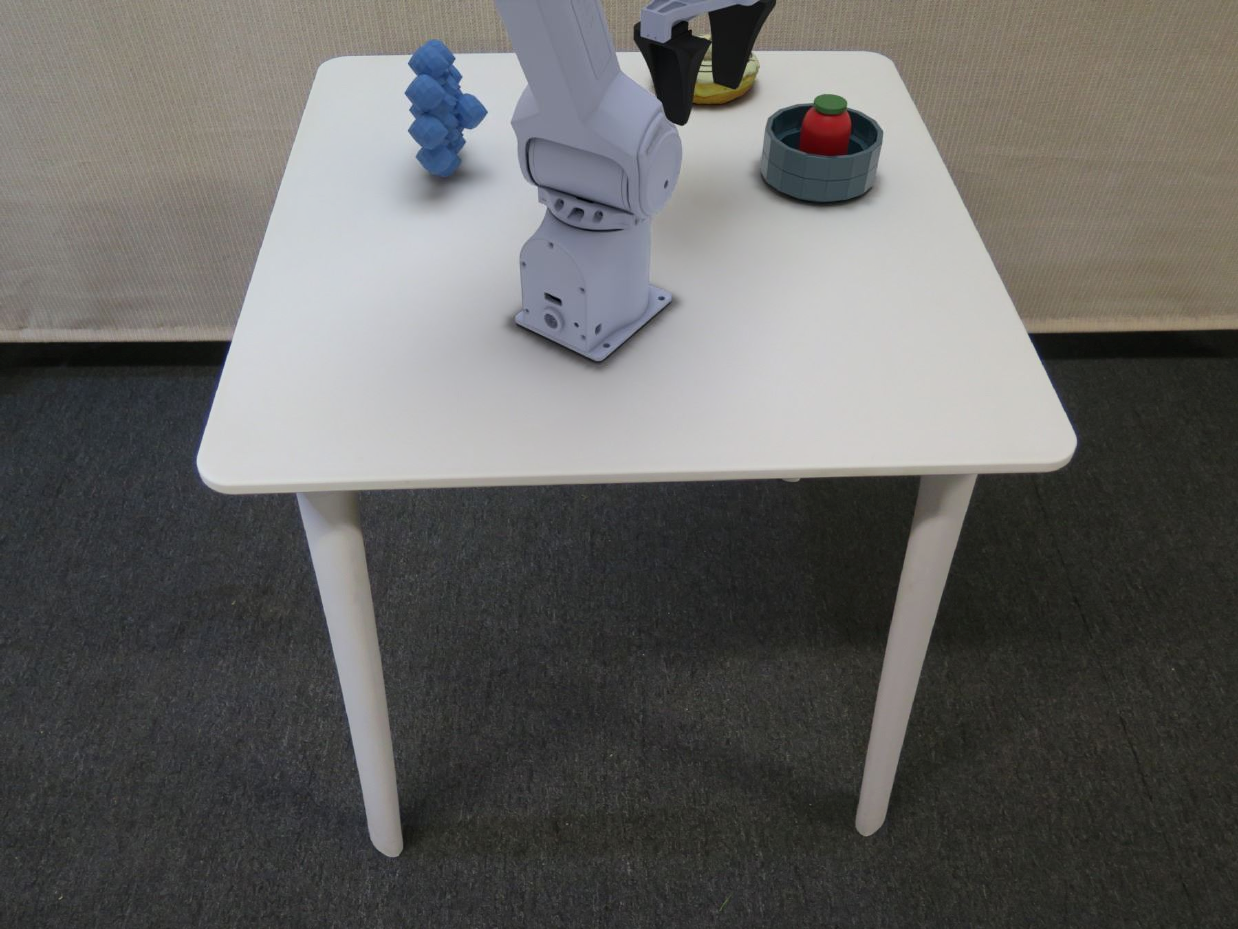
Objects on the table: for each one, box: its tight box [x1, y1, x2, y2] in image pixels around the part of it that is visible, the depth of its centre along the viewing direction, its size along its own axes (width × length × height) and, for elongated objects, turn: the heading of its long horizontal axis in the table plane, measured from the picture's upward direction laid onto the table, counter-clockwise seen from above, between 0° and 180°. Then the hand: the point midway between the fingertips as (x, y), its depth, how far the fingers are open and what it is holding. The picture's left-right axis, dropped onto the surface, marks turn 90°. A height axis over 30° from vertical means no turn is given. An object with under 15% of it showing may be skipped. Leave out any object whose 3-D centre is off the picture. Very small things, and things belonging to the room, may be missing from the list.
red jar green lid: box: [798, 93, 851, 156], centre depth 86 cm, size 4×4×6 cm
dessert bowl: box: [759, 102, 884, 203], centre depth 87 cm, size 10×10×4 cm
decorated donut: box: [692, 33, 761, 105], centre depth 99 cm, size 10×11×4 cm
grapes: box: [404, 38, 489, 178], centre depth 84 cm, size 12×7×12 cm, turn 178°
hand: (700, 102), depth 78 cm, fingers open, 7 cm apart
